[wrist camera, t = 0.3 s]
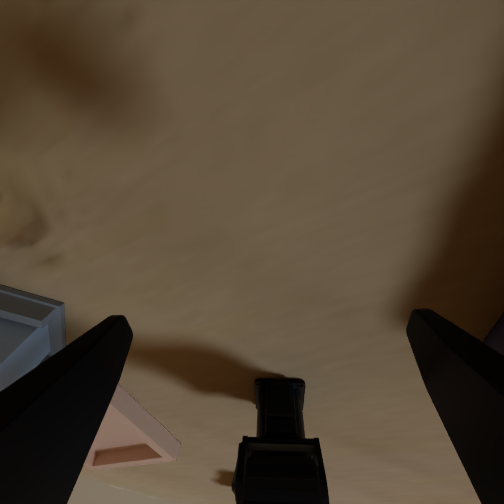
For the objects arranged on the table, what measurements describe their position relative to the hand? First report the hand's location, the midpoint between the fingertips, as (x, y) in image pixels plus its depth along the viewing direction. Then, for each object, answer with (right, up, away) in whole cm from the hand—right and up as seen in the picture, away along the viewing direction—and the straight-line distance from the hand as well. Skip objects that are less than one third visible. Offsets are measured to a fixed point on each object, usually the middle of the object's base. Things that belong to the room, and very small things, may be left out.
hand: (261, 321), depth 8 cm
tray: (-24, -26, +34) cm, 49 cm away
